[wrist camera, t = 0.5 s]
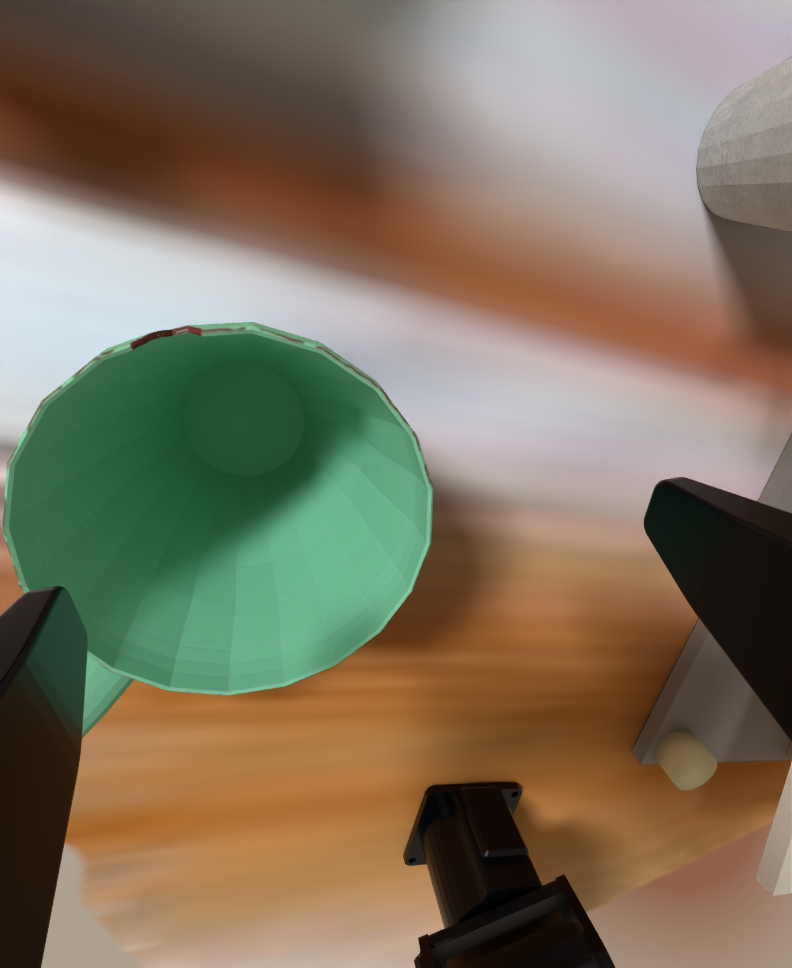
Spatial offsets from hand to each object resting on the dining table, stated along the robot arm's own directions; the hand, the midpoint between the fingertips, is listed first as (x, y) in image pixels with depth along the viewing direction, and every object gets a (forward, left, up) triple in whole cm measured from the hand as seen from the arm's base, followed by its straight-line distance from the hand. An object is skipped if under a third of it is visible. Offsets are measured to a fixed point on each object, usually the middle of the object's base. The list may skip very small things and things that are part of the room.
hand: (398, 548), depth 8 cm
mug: (-5, +3, -15) cm, 16 cm away
